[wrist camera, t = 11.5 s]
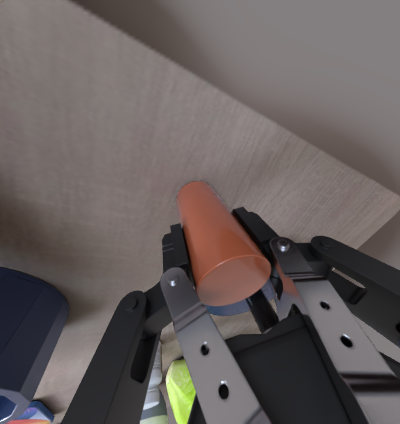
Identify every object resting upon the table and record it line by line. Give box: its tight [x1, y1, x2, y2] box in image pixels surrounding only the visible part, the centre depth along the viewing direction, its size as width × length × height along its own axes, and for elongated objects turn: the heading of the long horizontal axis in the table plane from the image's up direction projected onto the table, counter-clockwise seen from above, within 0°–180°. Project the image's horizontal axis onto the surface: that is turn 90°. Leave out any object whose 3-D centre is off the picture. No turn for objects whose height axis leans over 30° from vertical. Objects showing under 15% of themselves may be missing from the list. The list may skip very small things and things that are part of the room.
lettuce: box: [166, 359, 196, 424], centre depth 34 cm, size 17×20×17 cm
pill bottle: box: [143, 341, 162, 410], centre depth 27 cm, size 4×4×8 cm
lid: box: [202, 280, 279, 334], centre depth 23 cm, size 17×17×7 cm
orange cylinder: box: [176, 181, 271, 306], centre depth 11 cm, size 4×4×9 cm
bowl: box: [140, 388, 168, 424], centre depth 38 cm, size 16×16×10 cm
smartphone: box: [6, 401, 54, 424], centre depth 33 cm, size 7×15×1 cm, turn 167°
